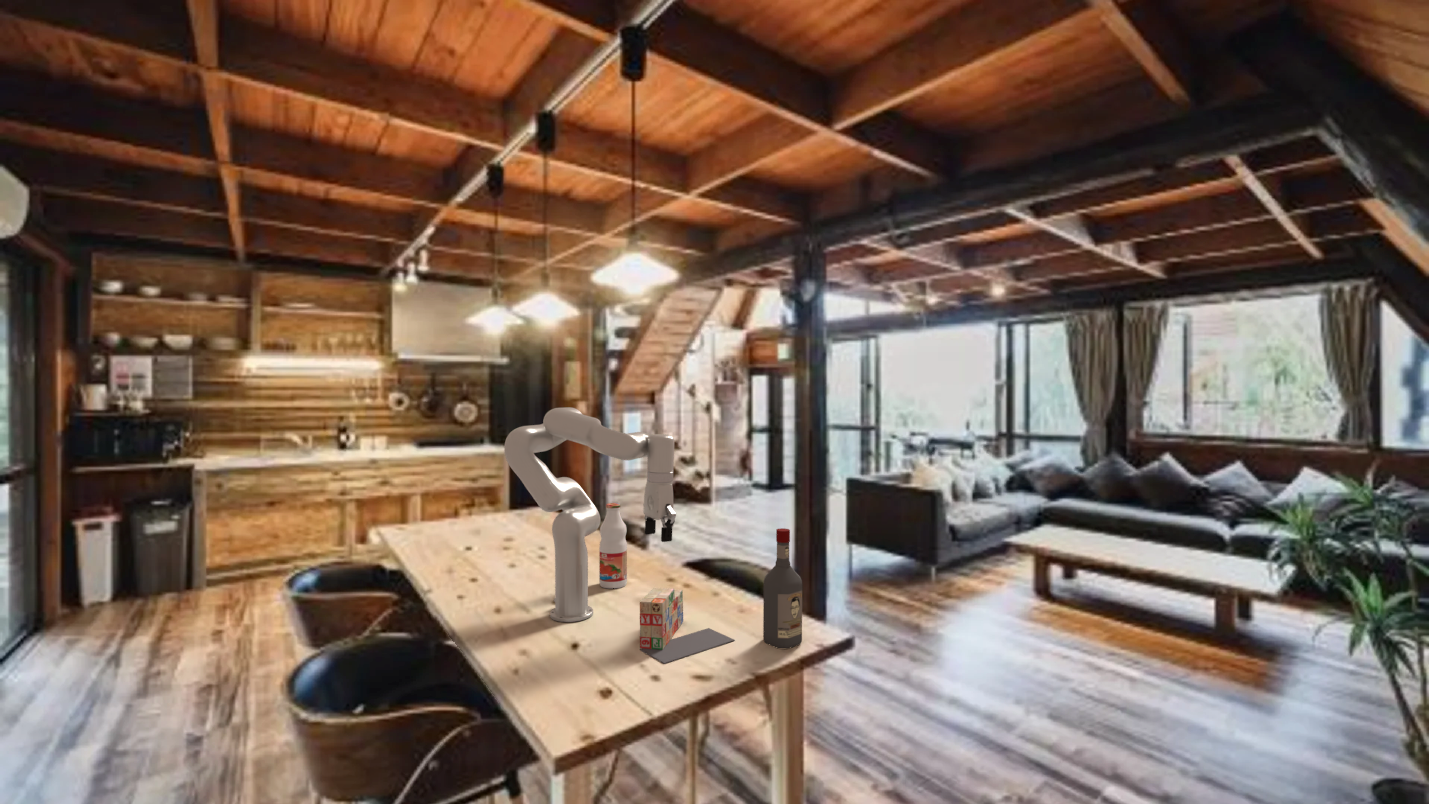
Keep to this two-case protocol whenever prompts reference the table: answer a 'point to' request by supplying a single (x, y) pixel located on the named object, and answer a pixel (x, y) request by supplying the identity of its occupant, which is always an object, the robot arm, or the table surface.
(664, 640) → the stack of blocks
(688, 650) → the mat
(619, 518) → the fruit juice
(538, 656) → the table surface
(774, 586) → the liquor
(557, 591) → the robot arm
